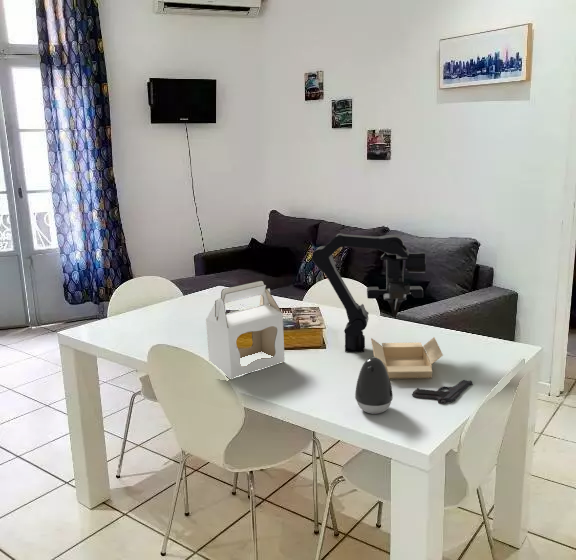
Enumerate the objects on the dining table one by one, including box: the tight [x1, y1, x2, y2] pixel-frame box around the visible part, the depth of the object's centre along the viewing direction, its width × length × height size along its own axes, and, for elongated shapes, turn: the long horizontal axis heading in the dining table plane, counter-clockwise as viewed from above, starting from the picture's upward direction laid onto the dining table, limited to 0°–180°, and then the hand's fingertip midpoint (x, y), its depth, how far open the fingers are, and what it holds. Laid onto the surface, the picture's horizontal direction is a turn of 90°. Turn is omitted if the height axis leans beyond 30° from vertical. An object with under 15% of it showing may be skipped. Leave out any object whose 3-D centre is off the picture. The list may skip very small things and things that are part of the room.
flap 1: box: [370, 337, 386, 365], centre depth 198 cm, size 1×17×4 cm
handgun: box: [411, 379, 474, 404], centre depth 181 cm, size 18×2×12 cm
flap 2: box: [423, 337, 444, 365], centre depth 197 cm, size 1×17×4 cm
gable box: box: [205, 280, 286, 380], centre depth 203 cm, size 22×13×28 cm, turn 129°
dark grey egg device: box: [354, 356, 394, 415], centre depth 168 cm, size 10×10×15 cm
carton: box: [381, 342, 433, 380], centre depth 199 cm, size 14×26×4 cm, turn 176°
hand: (394, 316), depth 212 cm, fingers closed
